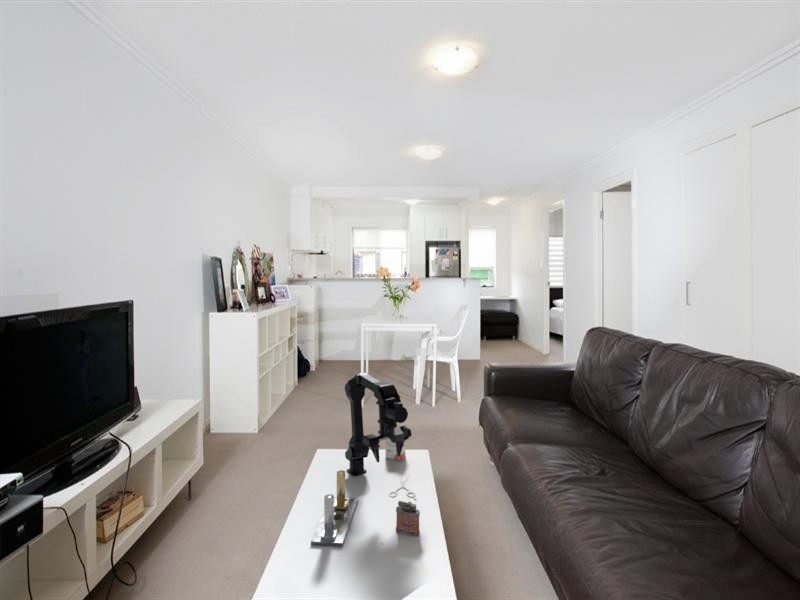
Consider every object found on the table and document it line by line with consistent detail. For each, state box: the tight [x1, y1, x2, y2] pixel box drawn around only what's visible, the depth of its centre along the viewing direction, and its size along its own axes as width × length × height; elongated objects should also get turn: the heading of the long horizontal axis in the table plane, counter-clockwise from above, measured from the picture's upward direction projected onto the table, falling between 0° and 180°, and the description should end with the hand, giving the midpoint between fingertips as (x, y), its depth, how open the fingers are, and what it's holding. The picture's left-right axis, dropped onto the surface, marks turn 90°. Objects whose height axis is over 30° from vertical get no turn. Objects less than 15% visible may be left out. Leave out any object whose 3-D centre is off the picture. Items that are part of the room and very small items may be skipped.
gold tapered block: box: [334, 470, 348, 509], centre depth 139 cm, size 4×4×12 cm
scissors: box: [388, 474, 417, 501], centre depth 156 cm, size 11×1×20 cm
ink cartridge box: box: [385, 439, 406, 461], centre depth 182 cm, size 9×5×15 cm, turn 68°
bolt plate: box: [310, 493, 359, 548], centre depth 133 cm, size 25×10×14 cm, turn 175°
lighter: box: [395, 500, 421, 538], centre depth 127 cm, size 8×3×10 cm, turn 71°
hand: (388, 459), depth 146 cm, fingers open, 9 cm apart
